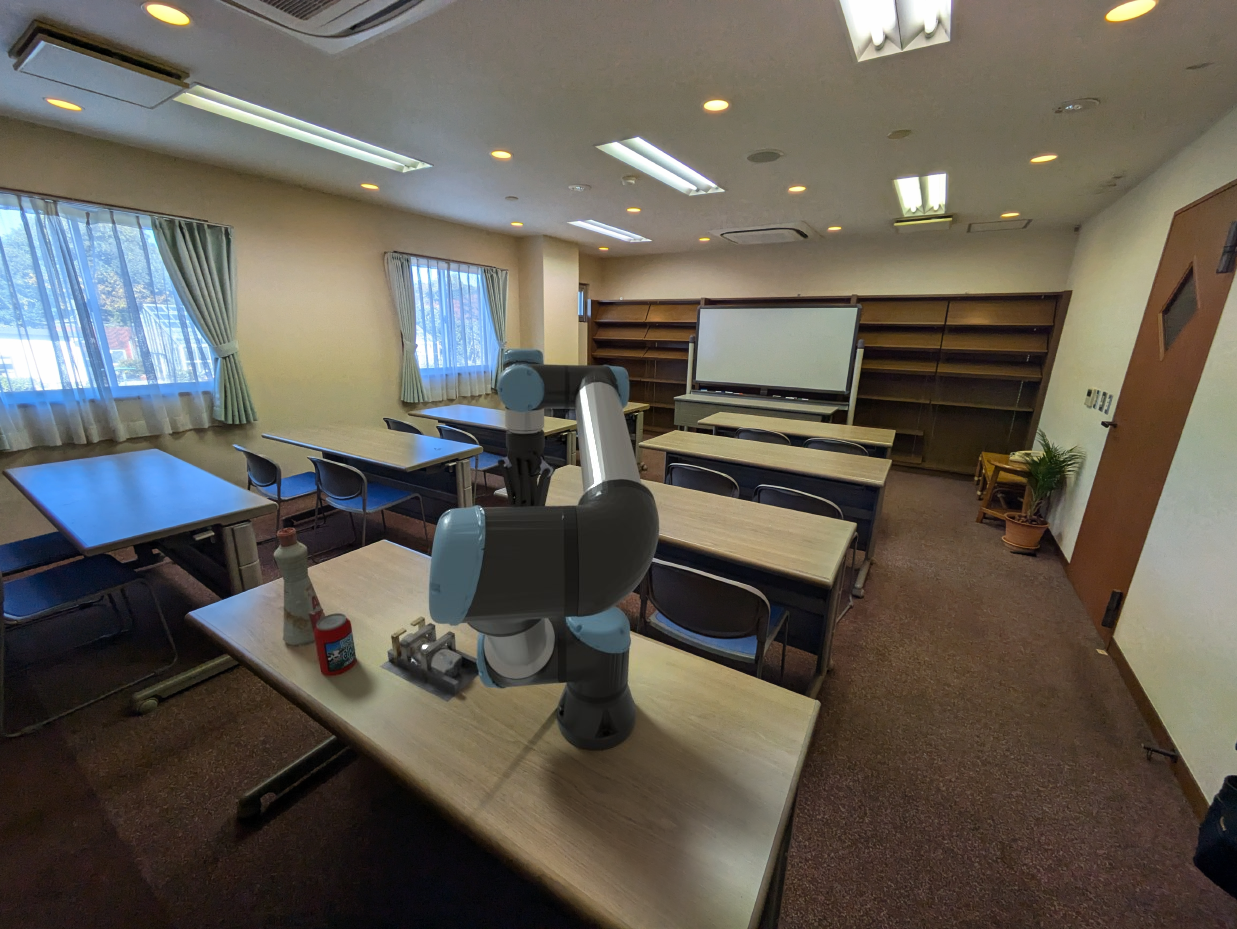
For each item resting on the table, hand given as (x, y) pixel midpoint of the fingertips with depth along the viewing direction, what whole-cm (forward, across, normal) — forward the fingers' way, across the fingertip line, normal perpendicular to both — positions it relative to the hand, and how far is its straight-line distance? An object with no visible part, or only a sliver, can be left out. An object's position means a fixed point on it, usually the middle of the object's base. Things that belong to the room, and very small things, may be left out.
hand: (527, 538), depth 98 cm
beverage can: (+30, +33, +24) cm, 50 cm away
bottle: (+30, +50, +21) cm, 62 cm away
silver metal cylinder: (+28, +16, +14) cm, 35 cm away
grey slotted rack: (+29, +15, +14) cm, 36 cm away
